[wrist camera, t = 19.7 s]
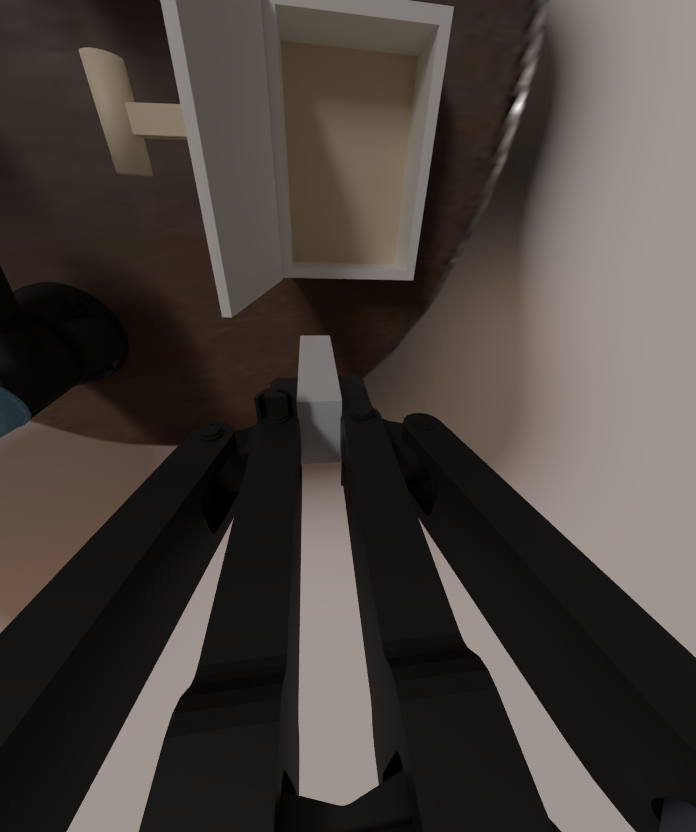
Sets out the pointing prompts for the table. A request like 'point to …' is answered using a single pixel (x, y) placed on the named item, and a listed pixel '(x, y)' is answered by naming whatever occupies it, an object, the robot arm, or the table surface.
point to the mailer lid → (208, 134)
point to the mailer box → (353, 130)
